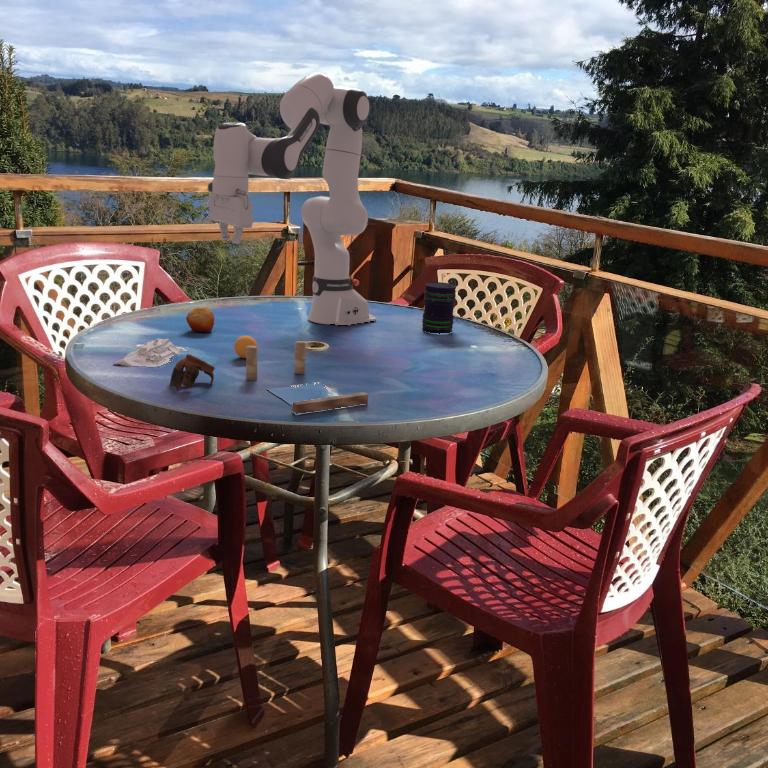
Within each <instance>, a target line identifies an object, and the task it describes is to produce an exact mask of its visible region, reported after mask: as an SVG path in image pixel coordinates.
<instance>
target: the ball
mask: <svg viewBox="0 0 768 768" xmlns="http://www.w3.org/2000/svg"><path fill="white" fill-rule="evenodd" d="M247 346H257V347H258V343H257V341H256V339H255V338H253V337H252V336H251V335H241V336H239V337H238V338H237V339H236V340H235V342H234V347H233V348H234V351H235V354H236V356H238V357H240V358H241V359H246V347H247Z"/></svg>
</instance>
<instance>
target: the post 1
mask: <svg viewBox="0 0 768 768" xmlns="http://www.w3.org/2000/svg"><path fill="white" fill-rule="evenodd" d="M245 359H246V361H245V365H246V367H245V368H246V369H245V371H246V372H245V374H246V375H245V379H247V381H249V380H254V381H256V379H258V345H257V346H247V347H246V358H245Z"/></svg>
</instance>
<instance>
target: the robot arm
mask: <svg viewBox="0 0 768 768" xmlns="http://www.w3.org/2000/svg"><path fill="white" fill-rule="evenodd" d="M279 112H280V113H279V114H280V117H281V119H282V120H283V122H284V123H285V126H287V127H288V128H289V129H290V130H289V132H288V133H287V135H286V136H283V137H278V138H276V137H275V138H271V137H259V136H258V137H257V135H255V134H253V133H252V132H251V131H249V129H248V128H247V124H246V123H244V122H240V121H229V122H222V123H219V125H217V126H216V129H215V132H214V139H213V160H214V161H213V162H214V165H215V166H214V171H213V179H212V180H211V181H210V182H208V183H207V192H208V193H209V195H208V204H209V205H208V207H209V208H208V209H209V215H210V219H211V220H212V221H216V222H218V227H219V230H220V236H221V237H220V239H221V240H223V241H229V240H230V236H231V235H230V234H231V233H230V232H229V226H232V227H233V236H231V242H232V243H233V244H234V245H239V244H241V242H242V240H241V239H242V235H243V233H244V229H251V228H252V227H253V224H254V215H253V213H254V212H253V204H252V200H251V198H250V197H249V175H254V176H255V175H256V176H261V177H271V178H275V179H280V180H285V179H288V178H290V177H291V176H292V175H293V174H294V172H295V171H296V169H297V167H298V164H299V162H300V159H301V157H302V155H303V154H304V152H305V151H306V149H307V148H308V146H309V145H310V143H311V142H312V140H313V139H314V137H315V135H316V134H317V132H318V130H319V128H320V124H322V125H325V126H329V127H330V128H329V132H328V134H327V135H328V136H327V140H326V146H325V151H324V159H323V166H322V173H321V174H322V179H324V181H325V182H326V184H327V187H328V193H329V196H324V195H319V196H315V197H310V198H308V199H306V200H305V201H304V202H303V204H302V206H301V210H300V217H301V219H302V223H303V224H304V225H305V226H306V227H307V229H308V231H309V234H310V237H311V242H312V245H313V249H314V250H313V251H314V275H313V276H312V302H311V306H310V311H309V313H308V316H307V320H308V321H310V322H313V323H316V324H321V325H330V324H335V325H334V326H338V325H348V326H352V325H351V324H355V325H357V324H356V323H361V324H365V323H364V322H368V323H371V322H370V321H374V322H376V321H377V318H376V316H375V315H373V314H370V307H369V306H370V305H369V303H368V301H367V299H366V298H364V297H363V296H362V295H361V294H360V293H359V292H357V290H356V289H354V286H355V287H358V286H359V284H360V281H359V280H358V279H356V278H353V279H352V278H351V277H349V276H350V252H349V250H348V249H347V247H345V245H344V243H343V240H342V236H344V237H351V236H357V235H358V236H359V235H360V234H362V233H364V232H365V229H366V228H367V225H368V222H369V214H368V211H367V209H366V207H365V206H364V204H363V202H362V201H361V197H360V193H359V192H360V191H359V185H358V184H359V182H358V180H359V172H360V171H359V170H360V163H361V156H362V147H363V125H364V124H365V123H366V122H367V120H368V119H369V118H368V117H369V115H370V112H371V102H370V99H369V97H368V95H367V93H366V92H365V91H364V90H361V89H359V88H355V87H352V88H350V87H346V86H340V85H334V84H333V82H332V80H331V78H330V77H328V76H327V75H326V74H324V73H323V72H322V73H321V72H312V73H310V74H307V75H306V76H304V77H302V78H301V79H300V80H298V81H297V82H295V84H294V85H293V86H291V87H290V89H288V90H287V91H286V93H285V94H284V95H283V96H282V98H281V100H280V103H279ZM375 320H376V321H375Z"/></svg>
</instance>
